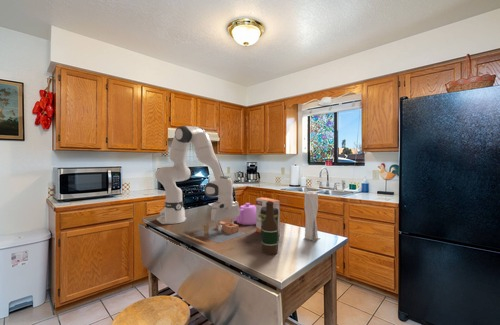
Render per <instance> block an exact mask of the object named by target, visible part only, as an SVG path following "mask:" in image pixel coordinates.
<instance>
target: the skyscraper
mask: <svg viewBox="0 0 500 325" xmlns="http://www.w3.org/2000/svg"><path fill="white" fill-rule="evenodd" d="M303 200H304V203H303V204H304V214H305V215H304V216H305V227H304V238H303V241H308V242H312V243H317V242H318V241H319V240H321V238H320V237H319V234H318V224H317V216H318V215H317V214H318V209H319V195H318V191H315V190H314V191H311V190H309V191H308V189H307V188H304V199H303Z"/></svg>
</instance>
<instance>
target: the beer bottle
mask: <svg viewBox="0 0 500 325" xmlns="http://www.w3.org/2000/svg"><path fill="white" fill-rule="evenodd" d="M273 204H274V203H273V202H271V201H269V202H266V205H267V206H266V218H265V220H264V222H263V225H262V241H261V249H262V250H261V252H262V253H263V254H265V255H268V256H269V255H270V256H273V255H277V254H278V251H279V241H278V224H277V222H276V220H275V219H274V210H273Z"/></svg>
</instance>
